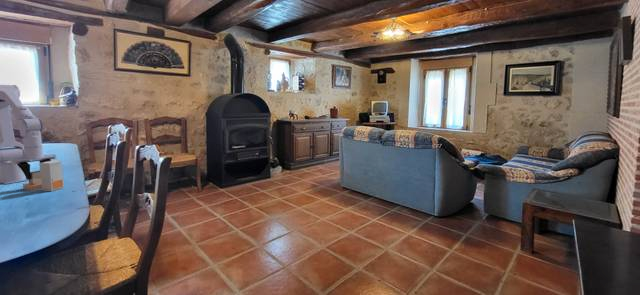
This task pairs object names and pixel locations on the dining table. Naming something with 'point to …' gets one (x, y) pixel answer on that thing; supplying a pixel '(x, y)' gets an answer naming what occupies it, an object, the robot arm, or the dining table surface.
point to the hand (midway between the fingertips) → (36, 177)
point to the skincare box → (51, 175)
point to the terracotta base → (32, 187)
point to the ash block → (35, 178)
